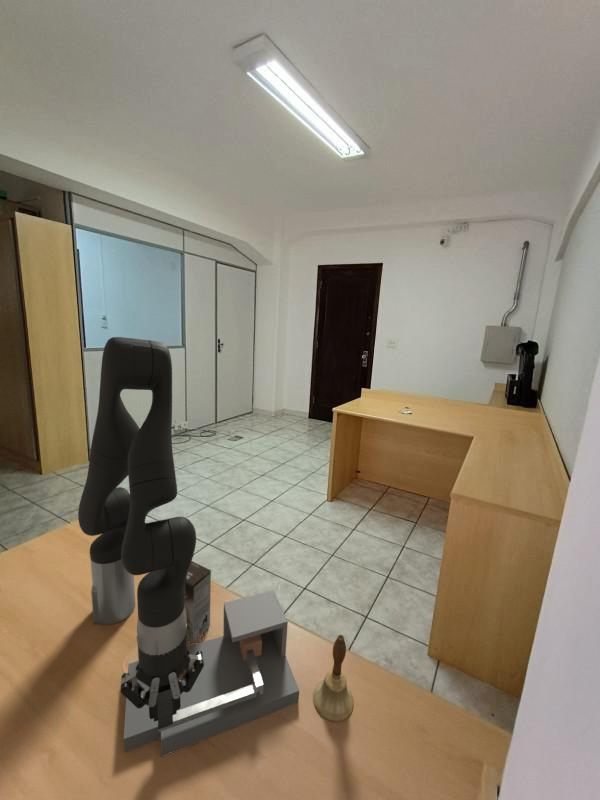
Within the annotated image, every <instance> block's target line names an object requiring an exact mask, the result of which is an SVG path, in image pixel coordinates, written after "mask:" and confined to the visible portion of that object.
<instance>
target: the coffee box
mask: <svg viewBox="0 0 600 800" xmlns="http://www.w3.org/2000/svg"><path fill="white" fill-rule="evenodd" d="M211 575H212V571H211V569H210V568H208V567H206V566H203V565H201V564H199V563H197V562H195V561H193V560H192V561H191V564H190V567H189V570H188V573H187V577H186V581H185V610H186V617H187V641H189V642H191V643H195V641H197V639H198V638H199V637H200V636H201V635H202V634H203V633H204V632H205V631H206V630H207V629H208V628H209V627H210V625H211V593H212V591H211V588H212V587H211V585H212V584H211V580H212V576H211Z"/></svg>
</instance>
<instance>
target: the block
mask: <svg viewBox="0 0 600 800" xmlns="http://www.w3.org/2000/svg"><path fill="white" fill-rule="evenodd" d="M240 649H241V652H242V656H243V660H246V651H249V650H252V649H253V651H254V655H255V657H256V656H259V655H261V652H262V639H261V636H260V634H259V635H256V636H253V637H249V638H246V639H243V640H240Z"/></svg>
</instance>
